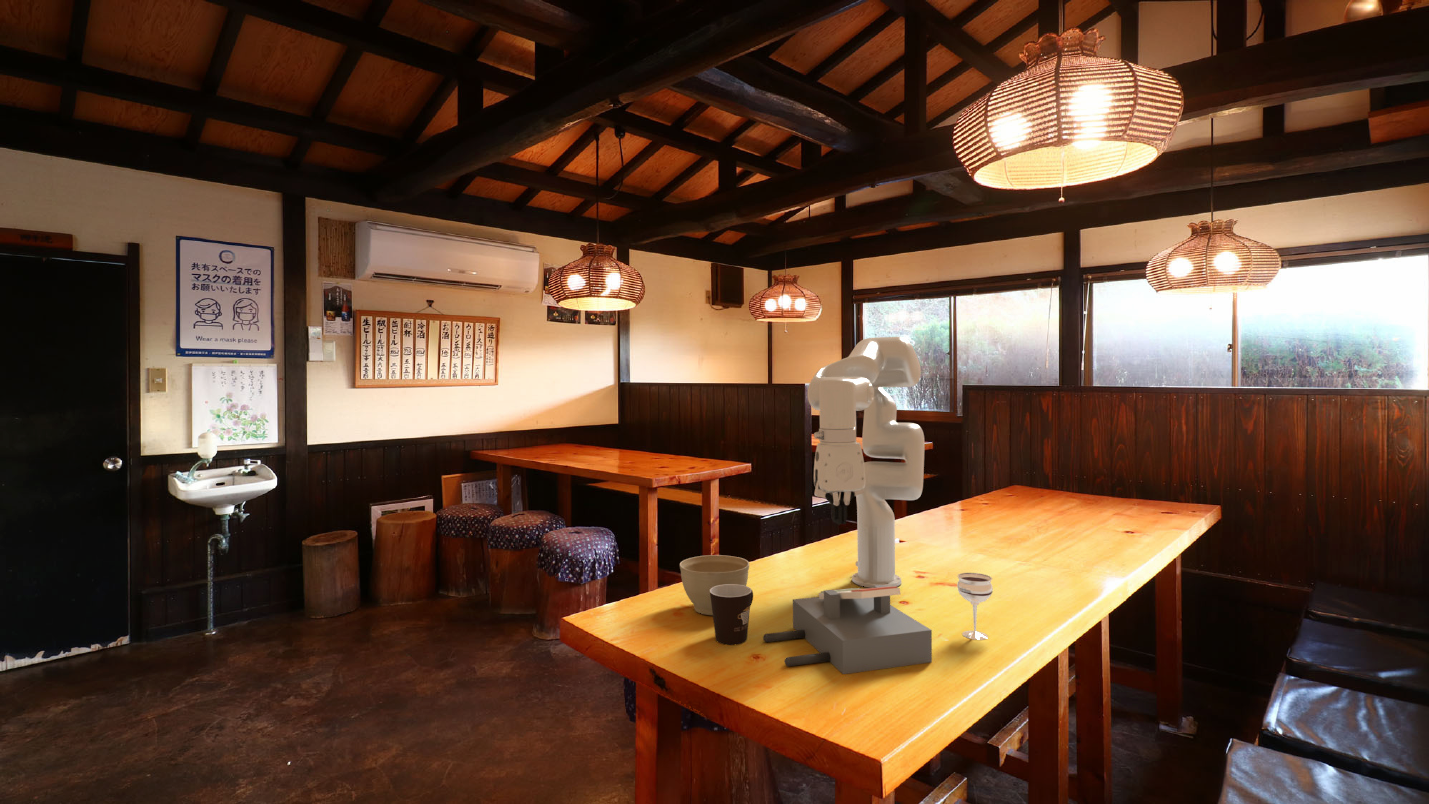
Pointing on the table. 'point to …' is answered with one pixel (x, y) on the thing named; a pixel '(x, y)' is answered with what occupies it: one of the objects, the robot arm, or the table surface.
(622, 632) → the table surface
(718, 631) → the coffee mug
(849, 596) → the breaker paddle
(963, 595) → the wineglass
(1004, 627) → the table surface
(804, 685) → the table surface
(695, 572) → the planter bowl
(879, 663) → the box
